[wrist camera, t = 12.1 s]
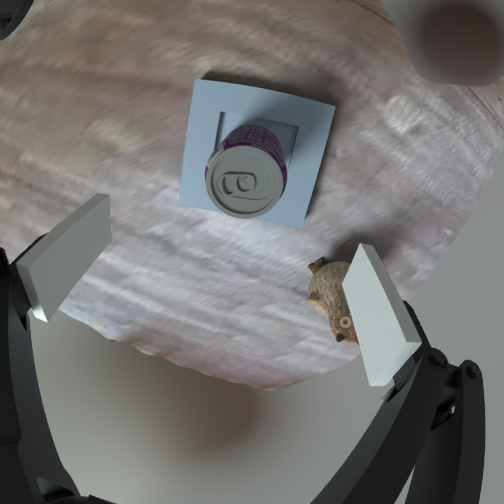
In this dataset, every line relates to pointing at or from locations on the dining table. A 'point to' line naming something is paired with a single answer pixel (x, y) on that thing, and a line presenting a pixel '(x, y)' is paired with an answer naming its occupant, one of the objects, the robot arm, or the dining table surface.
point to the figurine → (332, 298)
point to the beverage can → (246, 172)
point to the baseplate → (265, 115)
